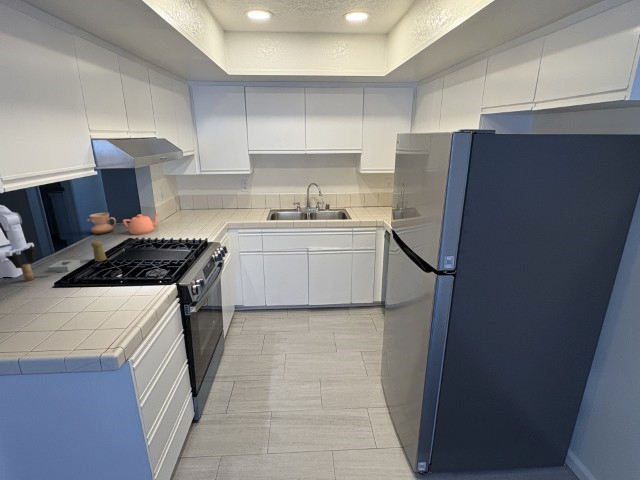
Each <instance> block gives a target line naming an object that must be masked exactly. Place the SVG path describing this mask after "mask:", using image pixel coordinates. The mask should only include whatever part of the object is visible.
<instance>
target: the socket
mask: <svg viewBox="0 0 640 480" xmlns="http://www.w3.org/2000/svg"><path fill="white" fill-rule="evenodd" d="M80 265H81V261H80V259H69V260H68V259H66V260H59V261H57V262H55V263H53V264H51V265H49V266H48V267H47V271H49V272H57V273H68V272H69V273H70V271H73V270H74V269H76V268H77V267H79V266H80Z"/></svg>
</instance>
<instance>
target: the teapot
mask: <svg viewBox="0 0 640 480" xmlns="http://www.w3.org/2000/svg"><path fill="white" fill-rule="evenodd" d="M158 215H160V213H157V214H155V215H154V217H153V219H151V217H149V216H147V215H143V214H141V213H139V214H137V215H136V216H134V217H132V218H131V219H127V218H126V219H123V220H122V224H123V225H124V226H126V228H128V232H129V233H130V234H131V235H133V236H141V235H147V234H151V233H153V232H154V231H155V229H156V227H157V225H158ZM127 222H129V224H128V223H127Z"/></svg>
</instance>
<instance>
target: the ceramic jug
mask: <svg viewBox="0 0 640 480" xmlns="http://www.w3.org/2000/svg"><path fill="white" fill-rule="evenodd" d="M110 220H113V224H110V223H109V221H110ZM86 221H87V222H91V223H92V222H93V224H94V226H92V227H91V228H90V229H89V230H90V231H91V233H92V234H96V235H104V234H109V233H111V232H113V231H114V229H115V228H116V227H115V226H116V224H117V219H116V218H115V217H112V216H111V217H110V213H109V212H98V213H93V214H90V215H89V218H88V219H86Z"/></svg>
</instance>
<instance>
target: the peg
mask: <svg viewBox="0 0 640 480" xmlns="http://www.w3.org/2000/svg"><path fill="white" fill-rule="evenodd" d="M21 265H22V268H21V269H22V272H23V274H22V275H23V278H24V281H25V282H26V283H27V282H32V281H34V280H35V278H34V276H35V275H34V273H33V269H32V266H31V264H30V263H25V264H21Z"/></svg>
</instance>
